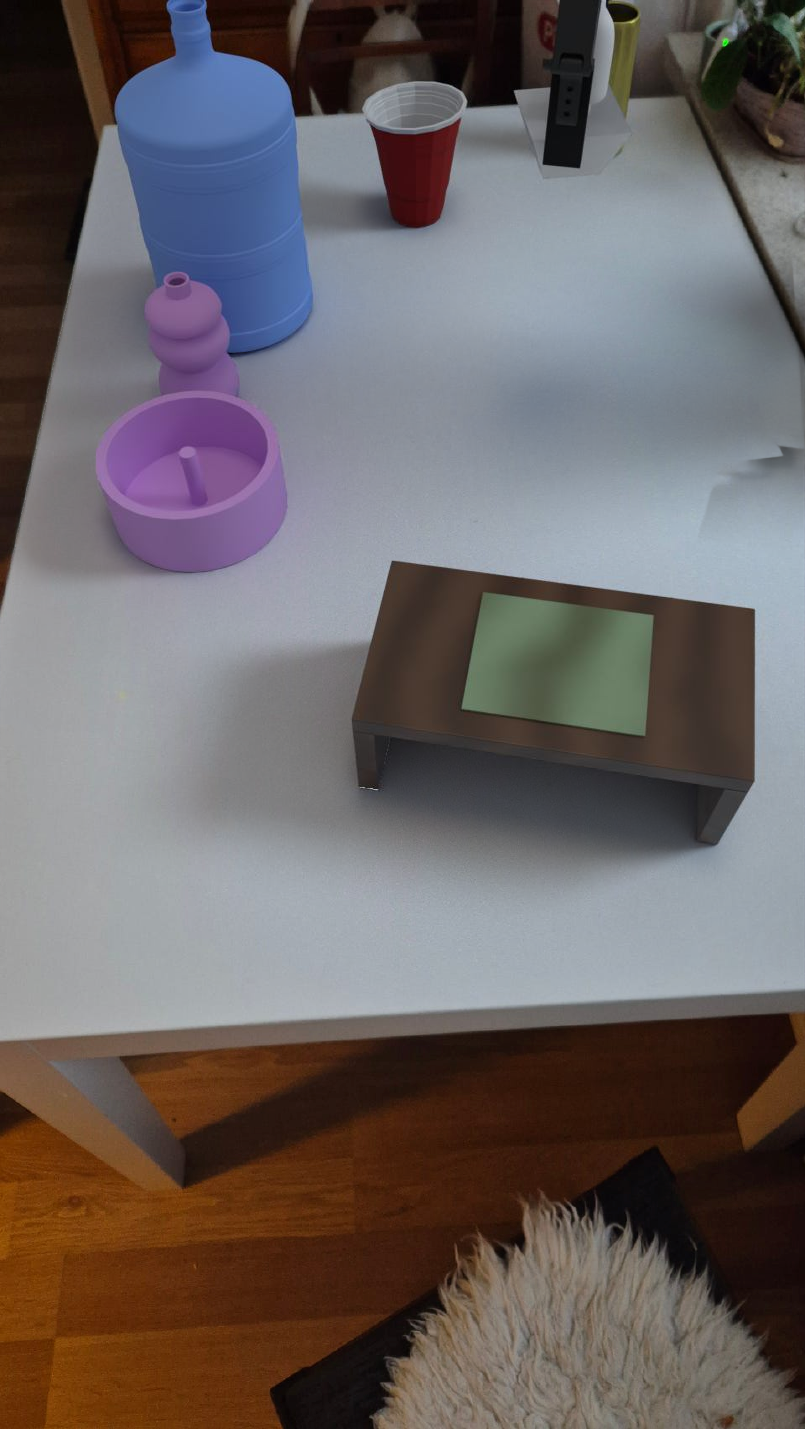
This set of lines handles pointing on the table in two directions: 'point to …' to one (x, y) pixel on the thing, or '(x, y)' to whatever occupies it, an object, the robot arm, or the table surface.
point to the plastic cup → (415, 146)
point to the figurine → (603, 115)
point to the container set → (192, 447)
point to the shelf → (563, 680)
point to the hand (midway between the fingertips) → (569, 128)
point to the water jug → (219, 180)
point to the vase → (623, 50)
